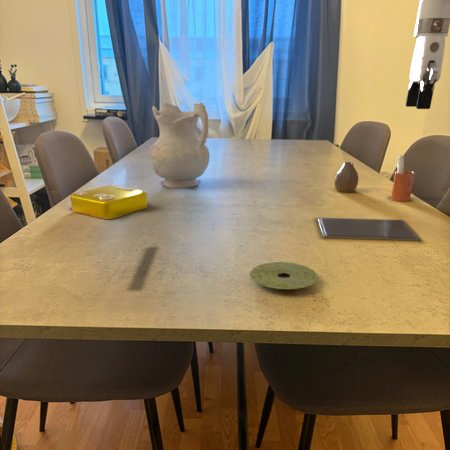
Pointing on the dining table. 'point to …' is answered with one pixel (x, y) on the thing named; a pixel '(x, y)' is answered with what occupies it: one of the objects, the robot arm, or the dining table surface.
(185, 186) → the ceramic pitcher
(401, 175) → the pen cup
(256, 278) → the green stone disc
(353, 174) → the vase
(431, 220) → the dining table surface
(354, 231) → the tablet
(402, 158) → the stylus
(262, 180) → the dining table surface
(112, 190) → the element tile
